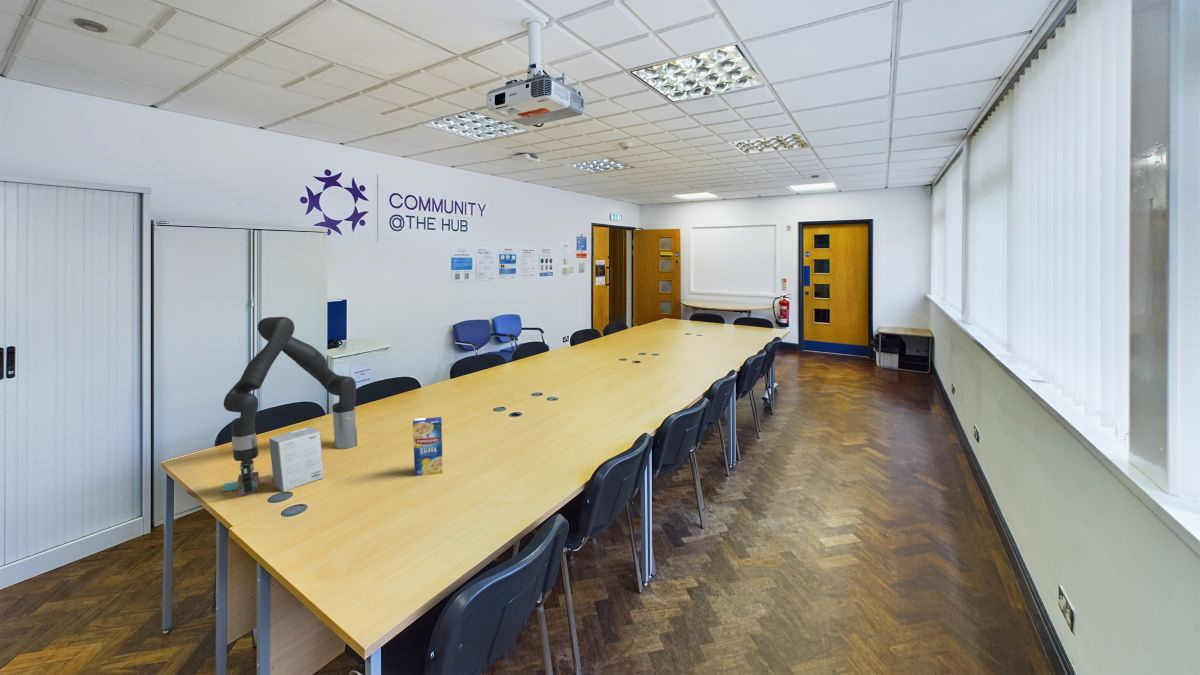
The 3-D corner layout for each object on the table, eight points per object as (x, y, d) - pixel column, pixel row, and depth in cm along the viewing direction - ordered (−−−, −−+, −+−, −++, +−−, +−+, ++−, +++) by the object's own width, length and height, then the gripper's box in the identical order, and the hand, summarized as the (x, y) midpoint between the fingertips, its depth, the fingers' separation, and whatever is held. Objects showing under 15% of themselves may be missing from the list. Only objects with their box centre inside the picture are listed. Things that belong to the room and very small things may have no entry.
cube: (259, 486, 189) (258, 471, 188) (258, 492, 184) (257, 477, 183) (240, 489, 186) (238, 474, 185) (238, 496, 181) (237, 480, 180)
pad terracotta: (271, 475, 198) (271, 474, 198) (270, 482, 192) (270, 481, 192) (250, 479, 194) (250, 478, 194) (248, 486, 188) (248, 485, 188)
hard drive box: (315, 473, 201) (311, 426, 198) (324, 478, 197) (321, 430, 194) (272, 487, 188) (268, 437, 185) (282, 492, 184) (277, 441, 181)
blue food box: (415, 469, 207) (413, 418, 203) (443, 466, 210) (441, 416, 206) (414, 476, 200) (412, 424, 197) (442, 473, 203) (441, 422, 200)
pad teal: (246, 481, 193) (246, 479, 193) (245, 488, 187) (245, 486, 187) (224, 485, 189) (224, 483, 189) (222, 492, 183) (222, 490, 183)
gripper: (256, 450, 178) (260, 493, 180) (258, 437, 190) (262, 478, 192) (230, 454, 174) (234, 498, 177) (234, 441, 186) (238, 482, 189)
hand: (249, 488), depth 184 cm, fingers closed on cube, 6 cm apart
